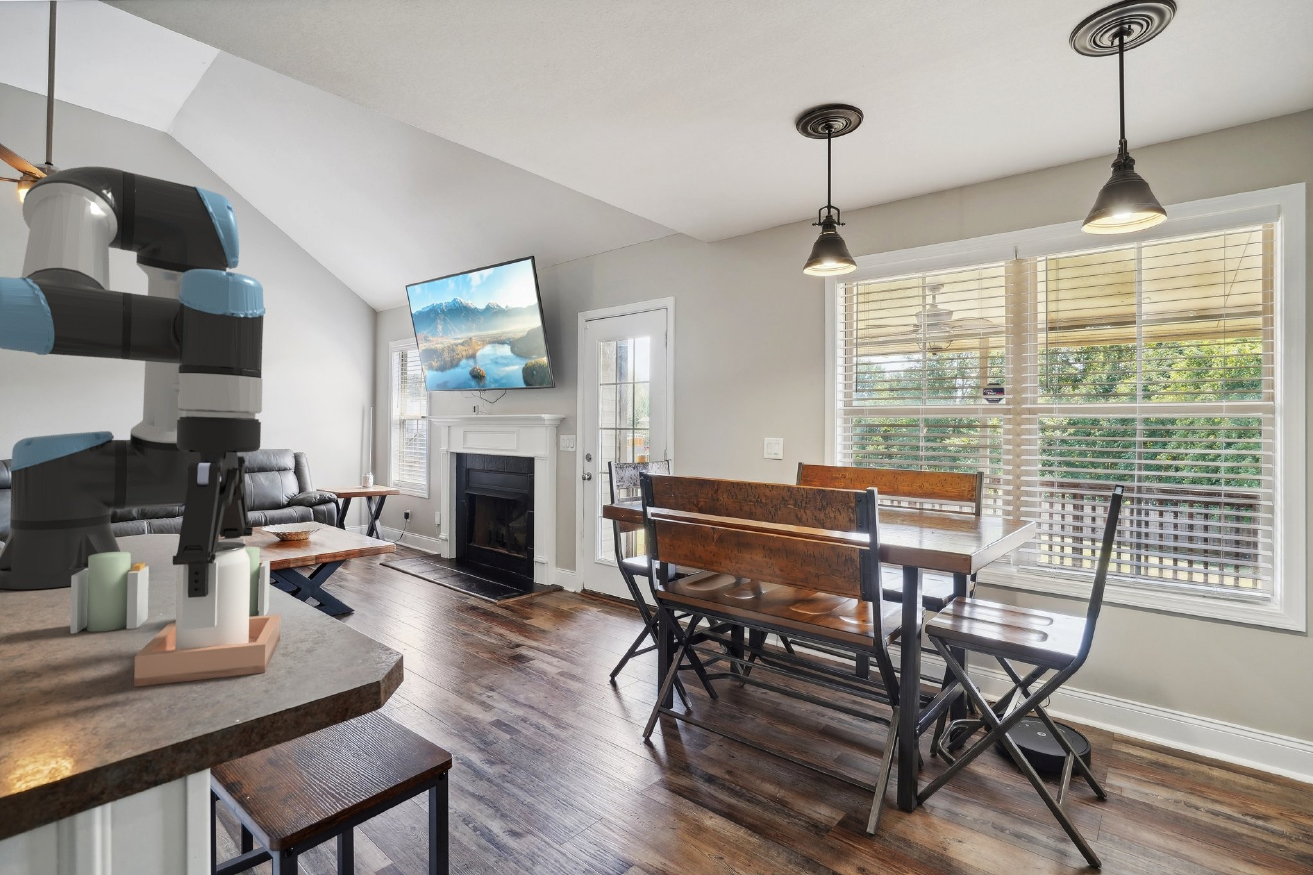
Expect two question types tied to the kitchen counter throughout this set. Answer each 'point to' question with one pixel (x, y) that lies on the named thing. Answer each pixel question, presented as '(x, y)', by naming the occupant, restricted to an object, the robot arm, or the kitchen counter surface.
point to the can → (221, 601)
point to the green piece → (254, 579)
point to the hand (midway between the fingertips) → (216, 608)
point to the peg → (107, 590)
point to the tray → (207, 655)
